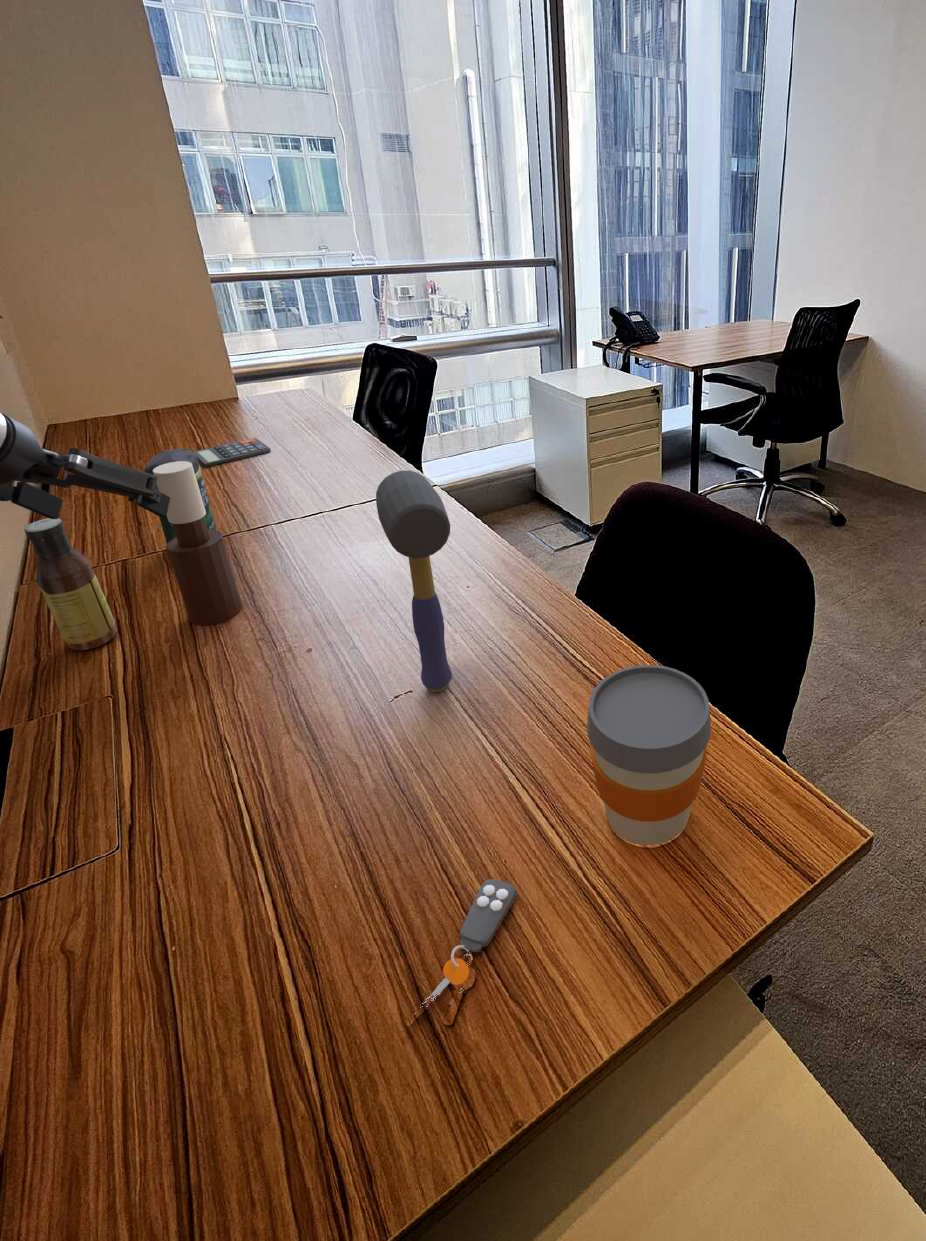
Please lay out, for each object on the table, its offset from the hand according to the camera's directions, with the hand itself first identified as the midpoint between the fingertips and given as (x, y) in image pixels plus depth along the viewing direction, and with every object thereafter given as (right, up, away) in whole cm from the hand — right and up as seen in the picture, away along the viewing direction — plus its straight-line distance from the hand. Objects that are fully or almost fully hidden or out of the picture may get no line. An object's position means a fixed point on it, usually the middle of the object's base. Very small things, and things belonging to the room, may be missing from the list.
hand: (112, 508), depth 89 cm
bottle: (+2, -17, +18) cm, 25 cm away
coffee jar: (-14, -8, +39) cm, 42 cm away
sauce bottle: (-12, -20, +12) cm, 26 cm away
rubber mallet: (+42, -24, +3) cm, 49 cm away
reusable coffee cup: (+71, -33, -16) cm, 80 cm away
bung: (+2, -4, +13) cm, 13 cm away
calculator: (-34, +12, +83) cm, 91 cm away
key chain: (+55, -39, -30) cm, 73 cm away
